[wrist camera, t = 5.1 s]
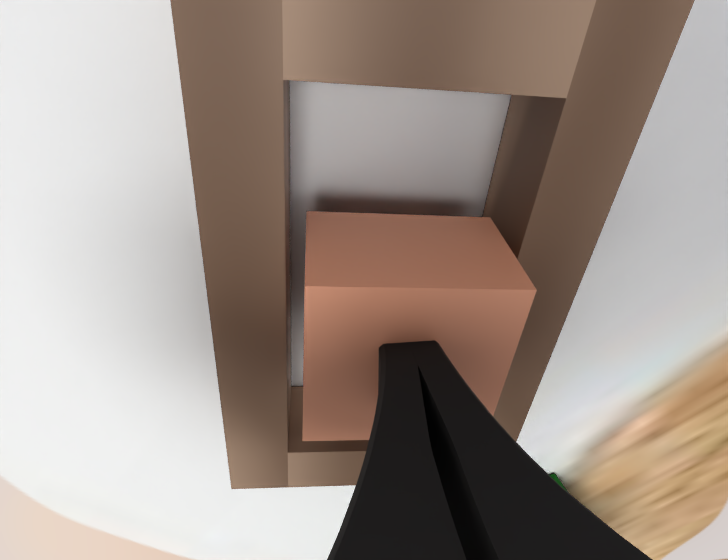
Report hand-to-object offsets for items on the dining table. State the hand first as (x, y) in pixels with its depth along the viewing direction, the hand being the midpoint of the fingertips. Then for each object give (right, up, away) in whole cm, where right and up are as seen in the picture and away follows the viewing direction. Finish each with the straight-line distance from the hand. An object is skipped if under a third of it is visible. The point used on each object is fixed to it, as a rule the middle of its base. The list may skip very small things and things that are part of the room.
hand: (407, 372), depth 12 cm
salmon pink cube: (0, +2, +3) cm, 3 cm away
